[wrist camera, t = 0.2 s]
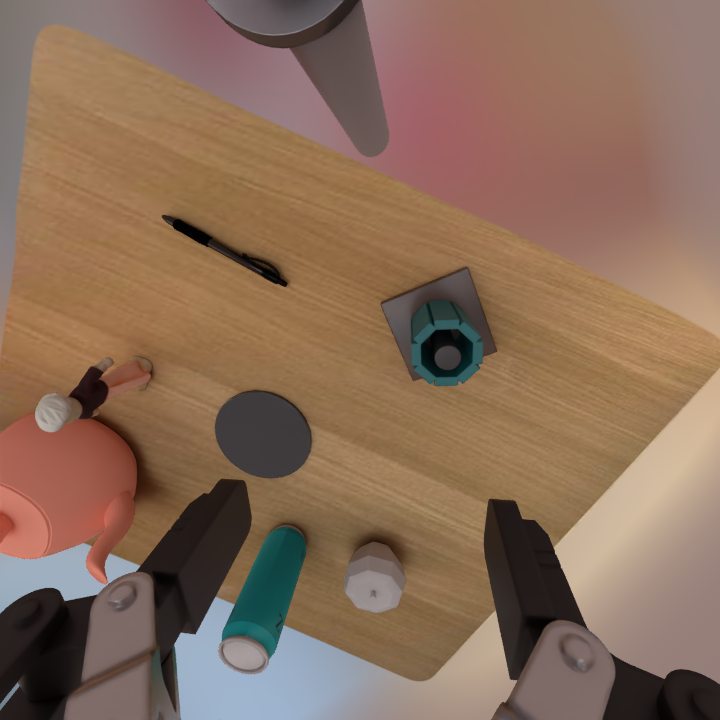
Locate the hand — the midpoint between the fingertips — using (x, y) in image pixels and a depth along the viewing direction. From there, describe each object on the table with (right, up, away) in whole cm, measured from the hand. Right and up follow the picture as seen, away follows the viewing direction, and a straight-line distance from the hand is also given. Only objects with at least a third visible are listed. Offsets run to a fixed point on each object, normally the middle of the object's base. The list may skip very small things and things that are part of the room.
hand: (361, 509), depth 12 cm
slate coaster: (-12, -4, +33) cm, 35 cm away
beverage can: (-10, -19, +38) cm, 44 cm away
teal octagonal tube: (+8, +8, +25) cm, 27 cm away
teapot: (-36, -9, +38) cm, 53 cm away
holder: (+8, +8, +26) cm, 28 cm away
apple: (+2, -21, +37) cm, 43 cm away
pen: (-13, +16, +26) cm, 33 cm away
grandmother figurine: (-26, +4, +32) cm, 42 cm away
